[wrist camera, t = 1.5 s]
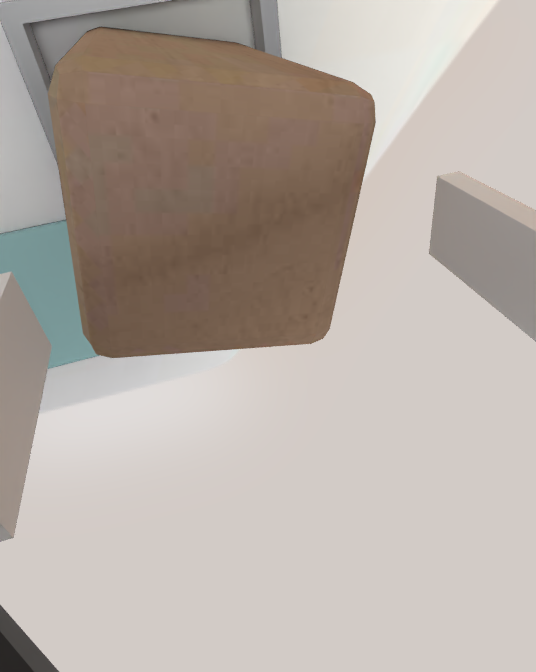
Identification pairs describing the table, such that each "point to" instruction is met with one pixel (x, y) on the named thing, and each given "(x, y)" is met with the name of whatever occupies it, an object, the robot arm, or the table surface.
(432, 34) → the table surface
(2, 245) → the board
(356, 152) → the wooden block
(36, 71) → the gray square frame
